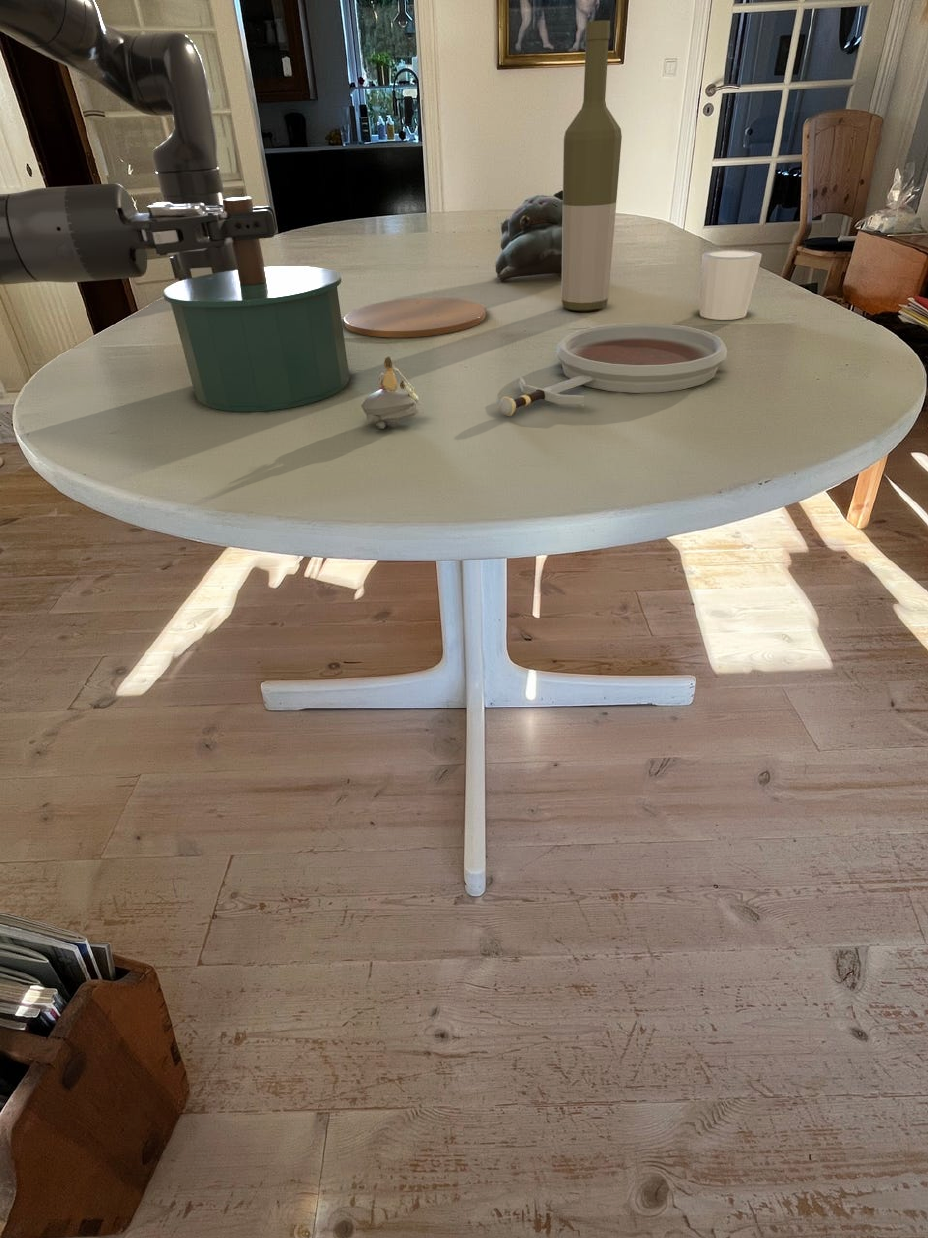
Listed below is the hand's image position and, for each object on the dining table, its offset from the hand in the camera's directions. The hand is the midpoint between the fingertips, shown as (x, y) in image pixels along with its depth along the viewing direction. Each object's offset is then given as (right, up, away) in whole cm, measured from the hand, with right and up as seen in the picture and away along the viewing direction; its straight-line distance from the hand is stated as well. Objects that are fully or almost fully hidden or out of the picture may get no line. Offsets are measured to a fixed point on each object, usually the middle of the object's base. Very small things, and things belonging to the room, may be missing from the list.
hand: (273, 221), depth 66 cm
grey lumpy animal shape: (+29, +19, +50) cm, 61 cm away
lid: (-3, -5, +3) cm, 6 cm away
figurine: (+11, -19, -2) cm, 23 cm away
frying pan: (+32, -13, +5) cm, 35 cm away
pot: (-2, -13, +8) cm, 15 cm away
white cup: (+51, +2, +24) cm, 56 cm away
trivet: (+11, +4, +30) cm, 32 cm away
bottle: (+34, +5, +31) cm, 46 cm away
